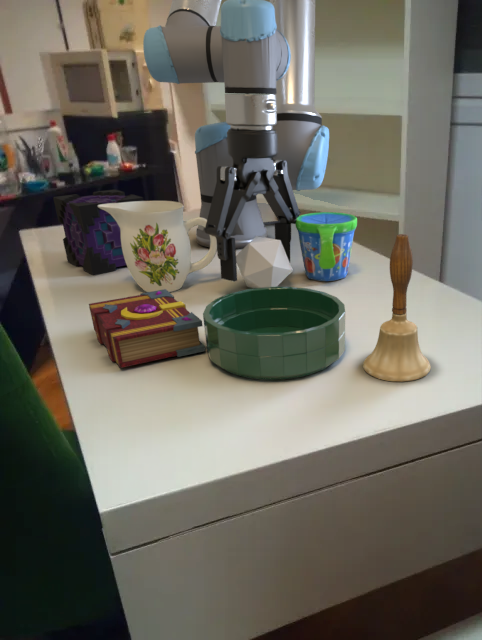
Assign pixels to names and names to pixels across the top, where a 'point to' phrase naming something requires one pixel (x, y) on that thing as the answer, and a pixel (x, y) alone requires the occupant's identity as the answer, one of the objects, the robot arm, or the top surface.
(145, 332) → the decorative book
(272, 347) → the bowl
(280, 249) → the die
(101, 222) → the energy cube
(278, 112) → the robot arm
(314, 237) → the snack cup
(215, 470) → the top surface
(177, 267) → the pitcher
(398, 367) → the hand bell
